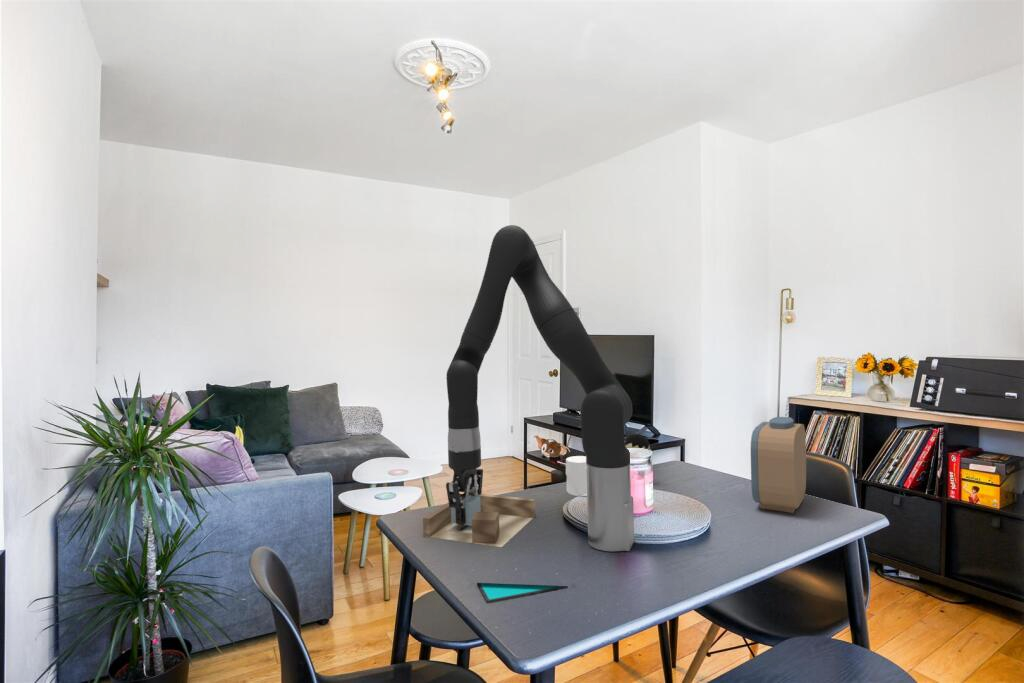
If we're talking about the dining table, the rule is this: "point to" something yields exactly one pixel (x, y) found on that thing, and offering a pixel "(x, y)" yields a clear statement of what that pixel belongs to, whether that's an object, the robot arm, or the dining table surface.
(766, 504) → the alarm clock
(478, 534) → the walnut block
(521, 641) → the dining table surface
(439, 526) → the tray
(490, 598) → the flat teal bar
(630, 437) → the toy
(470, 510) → the block
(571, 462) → the mug
